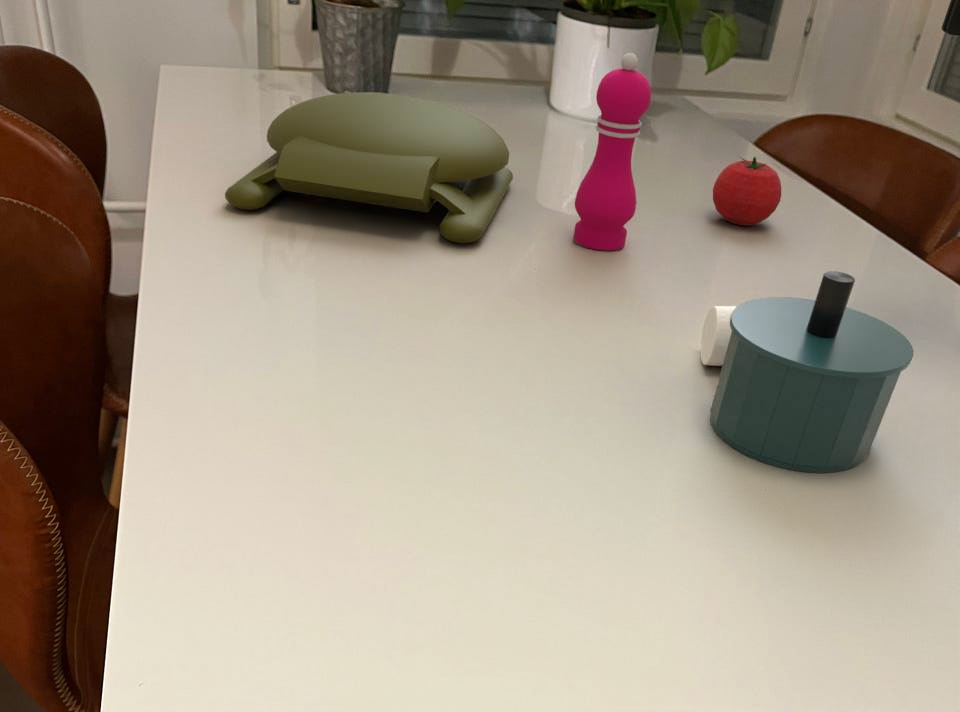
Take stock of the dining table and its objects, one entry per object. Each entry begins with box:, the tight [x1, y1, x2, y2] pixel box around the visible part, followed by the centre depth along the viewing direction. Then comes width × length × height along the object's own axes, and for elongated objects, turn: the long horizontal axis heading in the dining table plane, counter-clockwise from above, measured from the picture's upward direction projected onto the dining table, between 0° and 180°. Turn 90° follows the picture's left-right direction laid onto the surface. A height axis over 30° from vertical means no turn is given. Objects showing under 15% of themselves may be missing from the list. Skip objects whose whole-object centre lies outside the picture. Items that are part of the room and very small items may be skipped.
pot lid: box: [730, 270, 914, 378], centre depth 78 cm, size 15×15×6 cm
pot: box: [709, 331, 902, 474], centre depth 82 cm, size 14×14×8 cm
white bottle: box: [700, 305, 737, 367], centre depth 93 cm, size 6×12×6 cm, turn 88°
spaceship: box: [224, 91, 514, 245], centre depth 124 cm, size 35×31×10 cm
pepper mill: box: [573, 52, 652, 252], centre depth 112 cm, size 7×7×20 cm
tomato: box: [712, 156, 782, 226], centre depth 128 cm, size 9×9×8 cm
